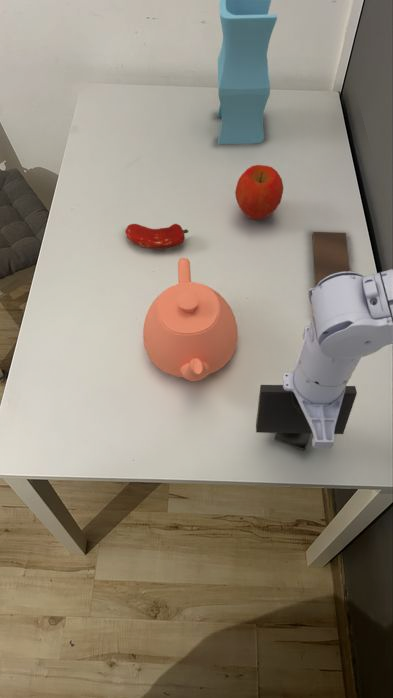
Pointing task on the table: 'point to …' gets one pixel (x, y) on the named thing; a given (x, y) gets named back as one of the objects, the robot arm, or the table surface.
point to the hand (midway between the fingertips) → (305, 411)
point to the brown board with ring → (329, 254)
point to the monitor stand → (293, 439)
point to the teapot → (189, 329)
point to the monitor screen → (293, 411)
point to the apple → (259, 191)
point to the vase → (244, 69)
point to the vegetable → (156, 236)
